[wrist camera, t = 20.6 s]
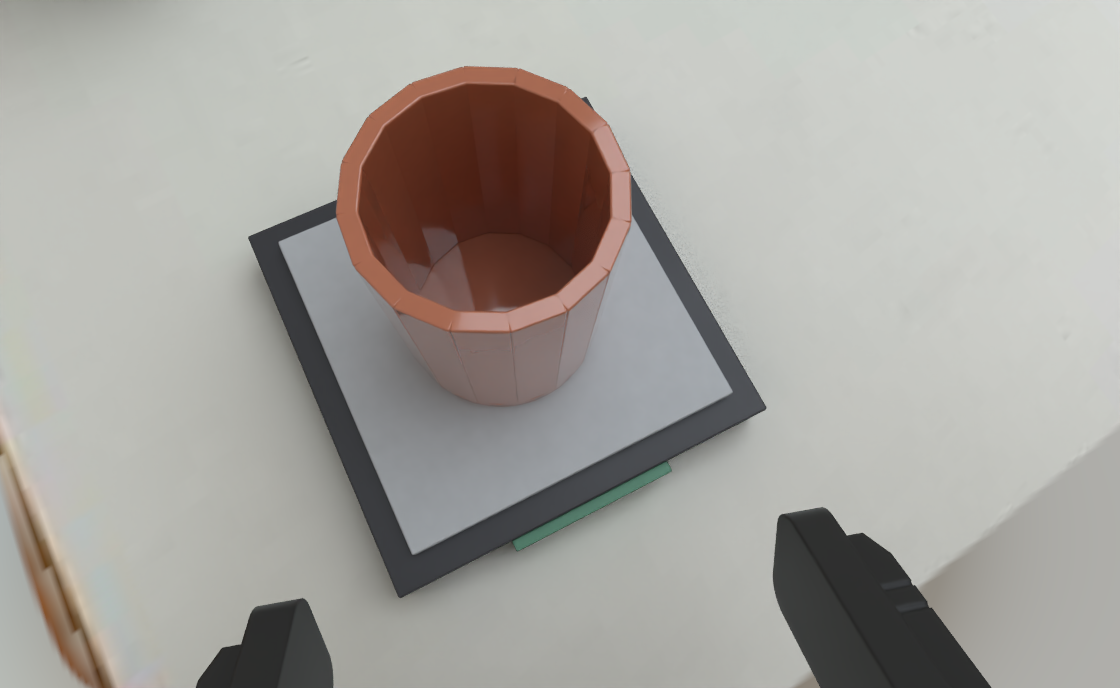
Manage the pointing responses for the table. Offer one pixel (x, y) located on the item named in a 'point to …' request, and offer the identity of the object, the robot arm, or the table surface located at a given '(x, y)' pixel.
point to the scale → (502, 432)
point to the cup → (488, 227)
